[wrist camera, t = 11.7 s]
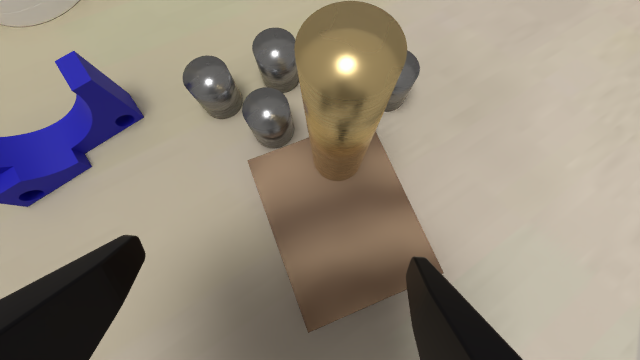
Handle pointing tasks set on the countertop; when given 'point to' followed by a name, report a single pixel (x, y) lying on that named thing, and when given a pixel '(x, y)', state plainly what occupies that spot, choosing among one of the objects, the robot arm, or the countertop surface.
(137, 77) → the countertop surface
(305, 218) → the brown wooden board
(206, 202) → the countertop surface
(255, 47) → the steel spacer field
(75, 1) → the cylinder
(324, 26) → the cylinder
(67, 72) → the cable clip
